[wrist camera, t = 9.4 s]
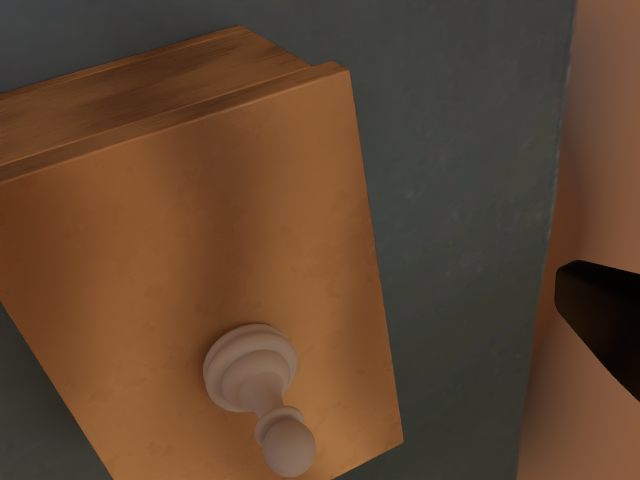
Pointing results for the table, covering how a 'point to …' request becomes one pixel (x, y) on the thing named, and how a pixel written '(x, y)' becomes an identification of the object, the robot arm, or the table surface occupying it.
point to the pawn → (261, 392)
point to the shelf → (196, 252)
